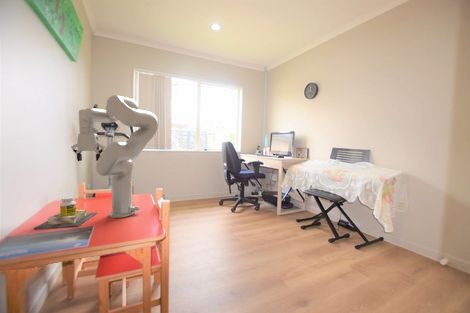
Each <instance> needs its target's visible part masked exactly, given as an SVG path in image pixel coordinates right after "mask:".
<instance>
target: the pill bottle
mask: <svg viewBox="0 0 470 313" xmlns="http://www.w3.org/2000/svg"><path fill="white" fill-rule="evenodd" d="M74 200H75V197H74V196H65V197H62V198H61V203H60V205H59V207H60V208H59V209H60V210H59V212H60V213H61V217H63V216H73V215H75V214H76V210H77V202H76V201H74Z"/></svg>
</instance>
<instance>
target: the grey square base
mask: <svg viewBox="0 0 470 313" xmlns="http://www.w3.org/2000/svg"><path fill="white" fill-rule="evenodd" d="M97 214H98V212H87V209H76V214H75V215H73V216H63V217H61V213H60V211H59V212H57V213H55V214H54V215H51V216H48V218H47V220H46V221H44V222H43V223H41V224H39V225H36V226H35V227H33V230H45V229H46V230H47V229H62V228H78V227H80V226H81V225H83V224H84V223H86V222H87V221H89V220H90V219H92V218H93V217H94V216H96V215H97Z"/></svg>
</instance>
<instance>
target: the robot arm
mask: <svg viewBox="0 0 470 313" xmlns="http://www.w3.org/2000/svg"><path fill="white" fill-rule="evenodd" d="M139 108H140V107H139V104H138V102H137V101H136V100H135V99H133V98H129V97H126V96H121V95H115V94H113V95H110V96H109V97H108V99H107V100H106V106H105V109H102V108H95V107H94V108H93V107H87V108H85V109H82V108H81V109H79V111H78V121H79V122H78V124H79V127H78V128H79V133H78V135H77V139H76V140H77V141H76V142H77V143H76V144H74V145H71V147H70V148H71V149H72V151H73V153H75V154H76V160H77V162H81V161H82V160H83V156H82V152H92V151H93V152H95V153H96V154H95V161H96V165H95V171H96V173H97V175H99V176H101V177H109V176H112V179H111V181H110V182H111V183H110V185H111V186H110V187H111V212H109V213H108V217H109V218H114V219H119V218H125V217H126V218H127V217H130V216H132V215H133V216H134V214H136V212H137V211H139V212H140V211H141V207H140V206H139V205H138V206H137V205H136V206H135V205H134V203H133V201H132V200H133V196H132V195H133V194H132V191H133V190H132V176H133V175H132V173H133V169H134V168H133V167H134V163H133V161H134V160H136V159H137V158H138V157H139V156H140V154H141V153H142V152H143V150H144V149H145V147H146V146H147V145H148V143H149V142H150V141H151V140H152V139H153V137H154V136H155V135H156V133H157V131H158V127H159V122H158V118H157V116H156V115H155V114H154V113H152V112H151V111H147V110H144V109H139ZM118 121H119V122H120V123H122V124H123V125H124V126H127V127H131V128H132V127H133V128H138V129H137V130H135V131H133V132H132V134H131V135H130V136H129V137H128V139H127V140H125V141H114V142H110V143H108V145H107V146H104V145H102V144H100V140H99V136H98V134H97V133H98V132H99V130H98V129H96V123H102V124H110V123H111V124H112V123H115V122H118Z"/></svg>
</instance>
